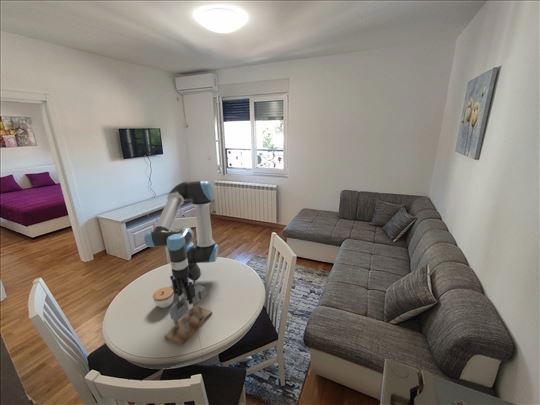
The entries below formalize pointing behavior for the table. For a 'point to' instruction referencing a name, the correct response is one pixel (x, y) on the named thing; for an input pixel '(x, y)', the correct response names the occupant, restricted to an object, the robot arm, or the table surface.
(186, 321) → the rack
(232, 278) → the table surface
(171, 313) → the grey notched bar
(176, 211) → the robot arm
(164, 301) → the lidded jar
